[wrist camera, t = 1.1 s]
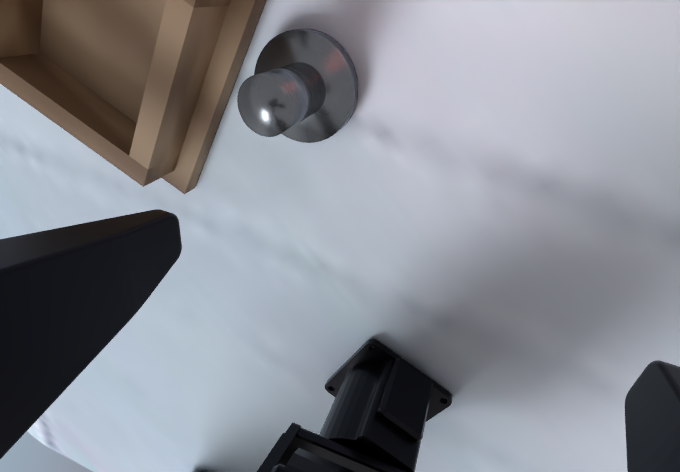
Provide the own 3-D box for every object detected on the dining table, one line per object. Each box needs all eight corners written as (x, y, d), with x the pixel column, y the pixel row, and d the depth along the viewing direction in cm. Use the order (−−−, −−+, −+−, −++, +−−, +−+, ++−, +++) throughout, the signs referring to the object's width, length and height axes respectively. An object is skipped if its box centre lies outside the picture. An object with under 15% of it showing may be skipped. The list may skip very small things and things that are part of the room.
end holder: (194, 187, 26) (154, 211, 23) (22, 63, 26) (-39, 72, 23) (277, -31, 18) (233, -36, 15) (33, -208, 18) (-58, -247, 15)
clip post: (327, 157, 22) (289, 189, 18) (248, 100, 21) (195, 121, 18) (378, 70, 19) (346, 89, 15) (287, 5, 19) (233, 7, 15)
